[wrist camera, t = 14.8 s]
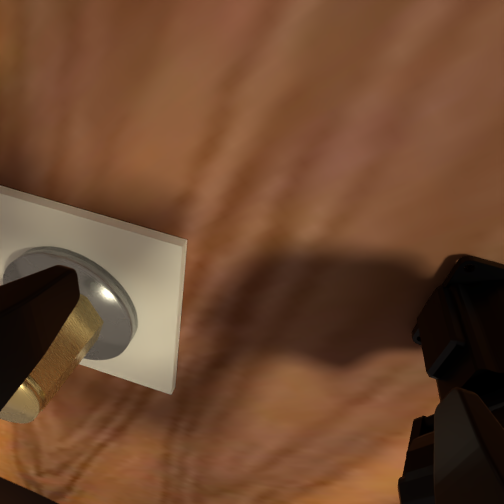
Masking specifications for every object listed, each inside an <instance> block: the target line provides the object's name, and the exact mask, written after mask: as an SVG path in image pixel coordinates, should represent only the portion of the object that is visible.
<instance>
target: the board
mask: <svg viewBox="0 0 504 504" xmlns="http://www.w3.org/2000/svg"><path fill="white" fill-rule="evenodd" d="M42 246H53V247H60V248H64V249H68V250H71V251H73V252H76V253H79V254H81V255H83V256H85V257H87V258H89V259H90V260H92V261H94V262H95V263H97V264H98V265H100V266H101V267H103V268H104V269H105V270H106V271H108V272H109V273H110V274H111V275H112V276H113V277H114V278H115V279H116V280H117V281H118V282H119V283H120V284H121V285H122V286H123V288H124V289H125V290H126V292H127V293H128V295H129V296H130V298H131V300H132V302H133V304H134V307H135V309H136V313H137V318H138V328H137V331H136V334H135V336H134V337H133V339H132V340H131V342H130V343H129V345H128V346H127V348H126V349H125V350H124V351H123V353H121V354H120V355H119V356H117V357H114V358H112V359H108V360H89V359H84V358H83V359H82V360H81V362H80V363H79V364H81V365H84V366H87V367H90V368H92V369H95V370H98V371H101V372H104V373H107V374H110V375H113V376H116V377H119V378H122V379H125V380H128V381H131V382H134V383H137V384H140V385H143V386H146V387H149V388H152V389H155V390H158V391H161V392H164V393H167V394H170V395H172V393H173V391H174V389H175V384H176V372H177V359H178V347H179V335H180V323H181V310H182V298H183V286H184V274H185V262H186V249H187V240H186V239H183V238H179V237H176V236H172V235H169V234H165V233H162V232H159V231H155V230H152V229H148V228H145V227H141V226H138V225H135V224H131V223H128V222H124V221H121V220H117V219H114V218H111V217H107V216H104V215H100V214H97V213H93V212H90V211H86V210H83V209H80V208H76V207H73V206H69V205H66V204H62V203H59V202H56V201H52V200H49V199H45V198H42V197H38V196H35V195H32V194H28V193H25V192H21V191H18V190H14V189H11V188H7V187H4V186H1V185H0V286H1V285H3V275H4V272H5V270H6V268H7V266H8V265H9V264H10V263H11V262H13V261H14V260H15V259H17V258H18V257H19V256H21V255H22V254H23V253H25V252H26V251H28V250H30V249H33V248H36V247H42Z"/></svg>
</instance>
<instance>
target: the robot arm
mask: <svg viewBox="0 0 504 504" xmlns="http://www.w3.org/2000/svg"><path fill="white" fill-rule="evenodd" d="M468 264H472V266H471V267H469V268H464V267H465V266H466V265H468ZM79 298H80V289H79V282H78V275H77V272H76V270H75V269H73V268H70V267H67V266H64V265H55V266H52V267H50V268H47V269H44V270H41V271H39V272H36V273H33V274H31V275H28V276H25V277H22V278H20V279H17V280H14V281H12V282H9V283H6V284H3V285H1V286H0V411H1V410H2V409H3V408H4V406H5V405H6V404H7V402H8V401H9V400H10V399H11V397H12V396H13V395H14V394H15V392H16V391H17V390H18V388H19V387H20V386H21V385H22V383H23V382H24V381H25V380H26V378H27V377H28V376H29V374H30V373H31V372H32V371H33V369H34V368H35V367H36V366H37V364H38V363H39V362H40V360H41V359H42V358H43V356H44V355H45V353H46V352H47V350H48V349H49V347H50V346H51V344H52V343H53V341H54V340H55V338H56V336H57V335H58V333H59V332H60V330H61V328H62V327H63V325H64V324H65V322H66V320H67V319H68V317H69V316H70V314H71V313H72V311H73V309H74V308H75V306H76V305H77V303H78V301H79ZM417 322H418V323H417V325H416V327H415V328H414V330H413V331H412V339H413V341H414V342H415V343H417V344H419V345H422V350H423V356H424V362H425V367H426V372H427V374H428V375H429V377H431V378H434V379H436V382H437V387H438V392H439V397H440V403H439V405H438V406H437V408H436V410H435V414H433V415H430V416H428V417H426V416H422V417H419V418H416V419H414V421H413V426H412V431H411V436H410V441H409V446H408V451H407V453H406V461H405V466H404V471H403V476H402V477H400V478H399V480H398V492H399V499H400V504H504V265H502V264H499V263H495V262H491V261H488V260H484V259H480V258H477V257H473V256H465V257H462V258H460V259H459V260H458V262H457V263H456V265H455V266H454V268H453V269H452V271H451V272H450V274H449V275H448V277H447V279H446V280H445V282H444V283H443V285H442V286H440V287H438V288H436V289H435V291H434V293H433V294H432V296H431V297H430V299H429V300H428V302H427V304H426V305H425V307H424V308H423V310H422V311H421V313H420V314H419V316H418V318H417ZM419 336H420V337H419Z"/></svg>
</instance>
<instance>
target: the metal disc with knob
mask: <svg viewBox="0 0 504 504" xmlns="http://www.w3.org/2000/svg"><path fill="white" fill-rule="evenodd" d="M55 265H64V266H67V267H70V268H73V269H75V270H76V272H77V275H78V282H79V289H80V294H82V295H84V296H86V297H87V298H88V300H89V301H90V303H91V304H92V306H93V307H94V308H95V310H96V311H97V313H98V314H99V316H100V317H101V319H102V320H103V322H104V323H103V326H102V329H101V331H100V334H99V337H98V340H97V341H96V342H95V344H94V345H93V346H92V347H91V349H90V350H89V351H88V353H87V354H86V355H85V357H84V359H89V360H108V359H112V358H114V357H117V356H119V355H120V354H121V353H123V351H124V350H125V349H126V348H127V346H128V345H129V343H130V342H131V340H132V339H133V337H134V336H135V334H136V331H137V328H138V318H137V313H136V309H135V307H134V304H133V302H132V300H131V298H130V296H129V295H128V293H127V292H126V290H125V289H124V288H123V286H122V285H121V284H120V283H119V282H118V281H117V280H116V279H115V278H114V277H113V276H112V275H111V274H110V273H109V272H108V271H106V270H105V269H104V268H103V267H101V266H100V265H98V264H97V263H95V262H94V261H92V260H90V259H89V258H87V257H85V256H83V255H81V254H79V253H76V252H73V251H71V250H68V249H64V248H60V247H53V246H42V247H36V248H33V249H30V250H28V251H26V252H25V253H23V254H22V255H21V256H19V257H18V258H17V259H15V260H14V261H13V262H11V263H10V264H9V265H8V266H7V268H6V270H5V272H4V275H3V284H6V283H9V282H12V281H14V280H17V279H20V278H22V277H25V276H28V275H31V274H33V273H36V272H39V271H41V270H44V269H47V268H50V267H52V266H55Z"/></svg>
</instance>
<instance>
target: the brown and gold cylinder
mask: <svg viewBox="0 0 504 504" xmlns="http://www.w3.org/2000/svg"><path fill="white" fill-rule="evenodd" d="M103 323H104V322H103V320H102V319H101V317H100V316H99V314H98V313H97V311H96V310H95V308H94V307H93V306H92V304H91V303H90V301H89V300H88V298H87V297H86V296H84V295H82V294H80V298H79V301H78V303H77V305H76V306H75V308H74V309H73V311H72V313H71V314H70V316H69V317H68V319H67V320H66V322H65V324H64V325H63V327H62V328H61V330H60V332H59V333H58V335H57V336H56V338H55V340H54V341H53V343H52V344H51V346H50V347H49V349H48V350H47V352H46V353H45V355H44V356H43V358H42V359H41V360H40V362H39V363H38V364H37V366H36V367H35V368H34V369H33V371H32V372H31V373H30V374H29V376H28V377H27V378H26V380H25V381H24V382H23V383H22V385H21V386H20V387H19V388H18V390H17V391H16V392H15V394H14V395H13V396H12V397H11V399H10V400H9V401H8V402H7V404H6V405H5V406H4V408H3V409H2V410H1V411H0V419H3V420H6V421H10V422H14V423H29V422H32V421H33V420H34V419H35V418H36V417H37V415H38V414H39V413H40V411H43V409H44V408H45V407H46V405H47V404H48V403H49V402H50V400H51V399H52V398H53V396H54V395H55V394H56V393H57V391H58V390H59V389H60V387H61V386H62V385H63V384H64V382H65V381H66V380H67V378H68V377H69V376H70V375H71V373H72V372H73V371H74V369H75V368H76V367H77V366H78V364H79V363H80V362H81V360H82V359H83V358H84V357H85V355H86V354H87V353H88V351H89V350H90V349H91V347H92V346H93V345H94V344H95V342H96V341H97V340H98V337H99V334H100V331H101V329H102V326H103Z"/></svg>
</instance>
